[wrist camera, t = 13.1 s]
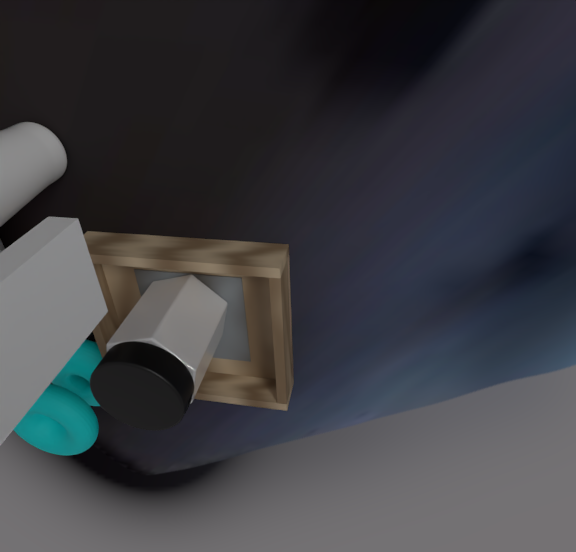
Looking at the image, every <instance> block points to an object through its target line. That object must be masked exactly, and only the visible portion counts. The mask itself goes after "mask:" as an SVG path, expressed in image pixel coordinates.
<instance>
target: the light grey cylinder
mask: <svg viewBox="0 0 576 552" xmlns="http://www.w3.org/2000/svg"><path fill="white" fill-rule="evenodd" d="M66 167H67V155H66V152H65V149H64V147H63V145H62V143H61V142H60V140H59V139H58V138H57V136H56V135H55V134H54V133H53V132H51V131H50V130H49V129H47V128H46V127H44V126H42V125H40V124H37V123H33V122H21V123H18V124H16V125H13V126H11V127H9V128H6V129H3V130H0V227H1V226H2V225H3V224H4V223H6V222H7V221H8V220H9V219H10V218H11V217H12V216H14V215H15V214H16V213H17V212H18V211H19V210H21V209H22V208H23V207H24V206H25V205H26V204H28V203H29V202H30V201H31V200H32V199H33V198H35V197H36V196H37V195H38V194H39V193H40V192H42V191H43V190H44V189H45V188H46V187H48V186H49V185H50V184H52V183H53V182H55V181H56V180H58V179H59V178H60V177H61V176H62V175H63V174H64V172H65V170H66Z"/></svg>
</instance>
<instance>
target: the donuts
mask: <svg viewBox="0 0 576 552" xmlns="http://www.w3.org/2000/svg"><path fill="white" fill-rule="evenodd" d="M101 360H102V356H101V353H100V350H99V348H98V345H97V343H96V342H93V341H90V340H85V341H84V342H83V343H82V345H81V346H80V347H79V348H78V350H77V351H76V352H75V353H74V354H73V356H72V357H71V358H70V359H69V361H68V362H67V363H66V364H65V366H64V367H63V368H62V369H61V371H60V372H59V373H58V374H57V376H56V377H55V378H54V379H53V381H52V383H53V384H49V386H48V387H47V388H46V389H45V391H44V392H43V393H42V394H41V396H40V397H39V398H38V399H37V401H36V402H35V403H34V404H33V406H32V407H31V408H30V409H29V411H28V412H27V413H26V414H25V416H24V417H23V418H22V419H21V421H20V422H19V423H18V424H17V425H16V427H15V428H14V429H13V430H14V431H15V432H16V433H17V434H18V435H19V436H20V437H21V438H22V439H24V440H25V441H26V442H28V443H29V444H31V445H33V446H35V447H37V448H38V449H41V450H43V451H46V452H49V453H52V454H57V455H75V454H79V453H82V452H84V451H86V450H87V449H89V448H90V447H91V446H92V445H93V444H94V442H95V440H96V438H97V436H98V430H99V426H98V420H97V417H96V415H95V413H94V411H93V410H92V408H91V407H90V406H100V405H99V404H98V402H97V401H96V400H95V398H94V396H93V394H92V392H91V388H90V377H91V374H92V372H93V371H94V370H95V368H96V367H97V365H98V364H99V363H100V361H101Z"/></svg>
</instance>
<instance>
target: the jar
mask: <svg viewBox="0 0 576 552" xmlns="http://www.w3.org/2000/svg"><path fill="white" fill-rule="evenodd" d="M227 305H228V304H227V302H226V301H225V300H224V299H222V298H221V297H220V296H219V295H217V294H216V293H215V292H214V291H212V290H211V289H210V288H209V287H207V286H206V285H205V284H204V283H202V282H201V281H200V280H198V279H197V278H196V277H195V276H193V275H185V276H180V277H175V278H169V279H164V280H158V281H153V282H152V283H151V284H150V286H149V287H148V289H147V290H146V291H145V293H144V294H143V295H142V297H141V298H140V299H139V301H138V302H137V303H136V305H135V306H134V307H133V309H132V310H131V312H130V313H129V314H128V316H127V317H126V318H125V320H124V321H123V322H122V324H121V325H120V326H119V328H118V329H117V331H116V332H115V333H114V335H113V336H112V337H111V339H110V340H109V341H108V343H107V344H106V348H107V353H106V354H105V356H104V357H103V358H102V360H101V361H100V363H99V364H98V365H97V367H96V368H95V370H94V371H93V372H92V374H91V377H90V388H91V392H92V394H93V396H94V398H95V400H96V401H97V402H98V404H99V405H100V406H101V407H102V408H103V409H104V410H105V411H106V412H107V413H109V414H110V415H111V416H113V417H114V418H116V419H118V420H119V421H121V422H123V423H125V424H128V425H130V426H133V427H136V428H140V429H145V430H164V429H168V428H171V427H173V426H175V425H176V424H178V423H179V422H180V421H181V419H182V418H183V416H184V414H185V413H186V411H187V409H188V407H189V405H190V404H191V403H192V402H193V400H194V397H195V395H196V393H197V391H198V388H199V386H200V384H201V382H202V379H203V377H204V375H205V373H206V371H207V368H208V366H209V364H210V362H211V359H212V357H213V355H214V353H215V350H216V348H217V346H218V344H219V342H220V339H221V337H222V335H223V329H224V322H225V316H226V311H227Z"/></svg>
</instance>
